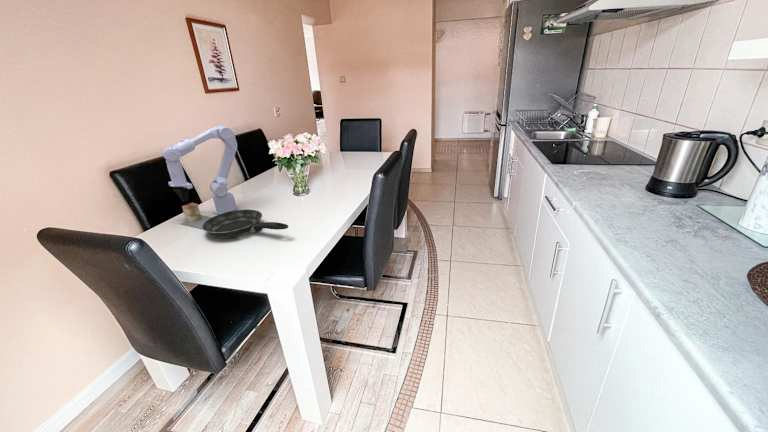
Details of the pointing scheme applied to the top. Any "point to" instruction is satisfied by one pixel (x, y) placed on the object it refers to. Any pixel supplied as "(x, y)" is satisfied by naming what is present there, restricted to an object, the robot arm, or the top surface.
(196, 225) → the grey rubber mat
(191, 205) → the oak block
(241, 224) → the frying pan
